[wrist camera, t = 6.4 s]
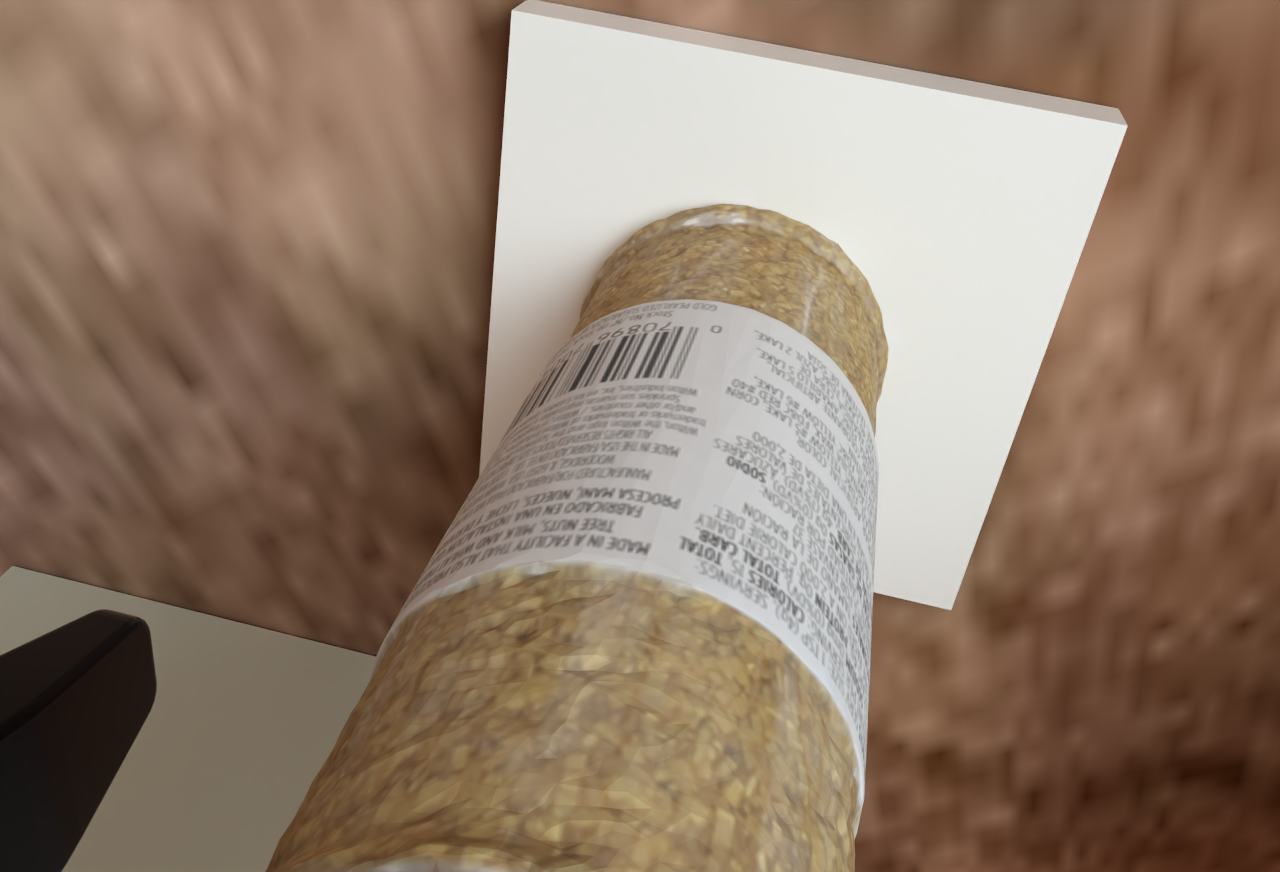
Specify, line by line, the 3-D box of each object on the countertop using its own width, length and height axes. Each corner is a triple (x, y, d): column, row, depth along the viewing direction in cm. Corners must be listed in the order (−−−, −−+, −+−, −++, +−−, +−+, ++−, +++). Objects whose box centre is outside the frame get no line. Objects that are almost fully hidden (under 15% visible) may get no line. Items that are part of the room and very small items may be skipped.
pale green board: (574, 705, 23) (371, 1275, 14) (563, 775, 24) (370, 1343, 15) (12, 565, 24) (-479, 1014, 15) (27, 637, 25) (-425, 1094, 16)
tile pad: (1118, 107, 15) (1127, 125, 14) (949, 579, 19) (950, 609, 19) (528, -2, 16) (511, 10, 15) (492, 474, 20) (477, 499, 19)
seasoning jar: (625, 484, 19) (183, 1619, 7) (549, 218, 17) (-230, 1228, 5) (914, 456, 17) (916, 1786, 6) (870, 163, 15) (750, 1354, 4)
